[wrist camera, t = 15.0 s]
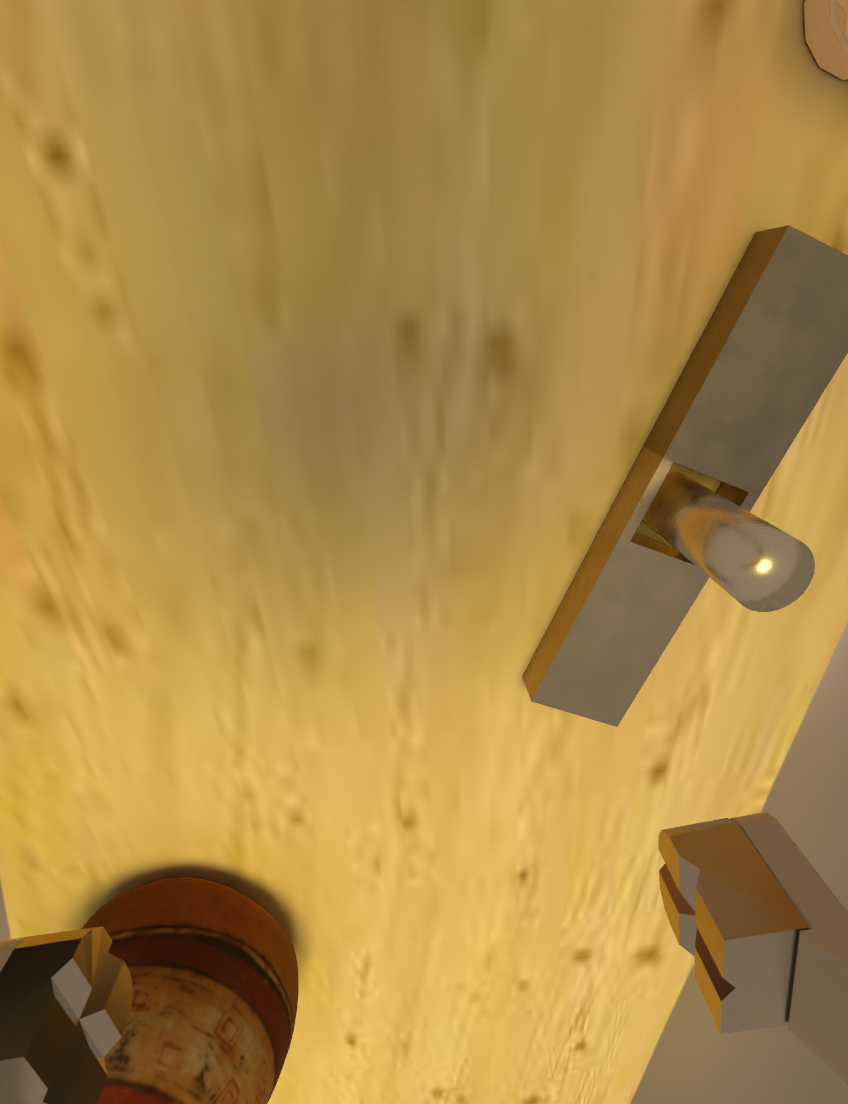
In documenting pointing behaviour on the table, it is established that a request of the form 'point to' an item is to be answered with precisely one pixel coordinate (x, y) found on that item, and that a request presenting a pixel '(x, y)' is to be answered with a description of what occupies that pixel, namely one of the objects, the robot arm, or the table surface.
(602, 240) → the table surface
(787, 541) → the pin
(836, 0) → the white cup
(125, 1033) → the ceramic pitcher
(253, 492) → the table surface
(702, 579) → the grey slab
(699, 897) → the robot arm
